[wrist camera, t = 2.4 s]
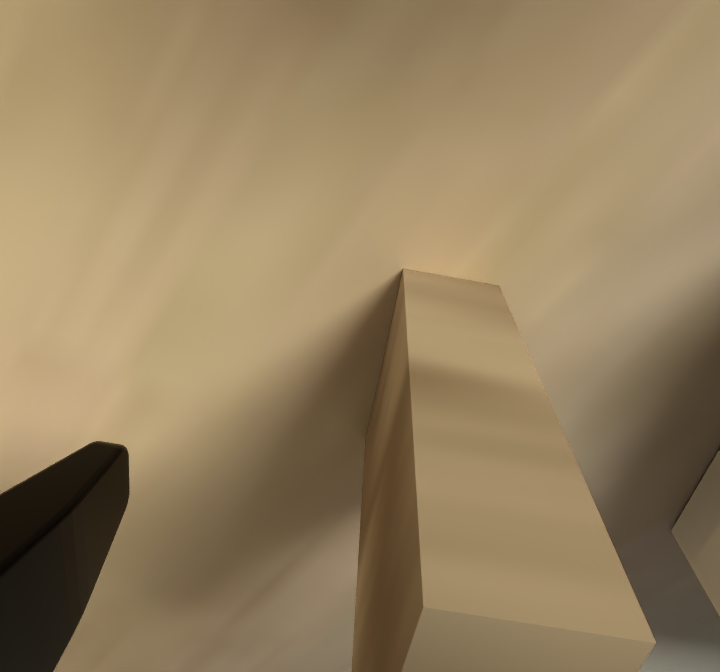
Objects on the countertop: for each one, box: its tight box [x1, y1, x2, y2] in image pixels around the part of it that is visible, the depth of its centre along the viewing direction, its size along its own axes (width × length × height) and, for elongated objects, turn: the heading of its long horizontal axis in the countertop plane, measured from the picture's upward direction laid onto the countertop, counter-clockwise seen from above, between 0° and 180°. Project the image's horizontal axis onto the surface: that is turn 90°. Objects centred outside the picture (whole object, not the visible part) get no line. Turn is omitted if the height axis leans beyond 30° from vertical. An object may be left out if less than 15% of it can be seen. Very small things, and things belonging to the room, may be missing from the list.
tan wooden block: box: [352, 269, 656, 672], centre depth 8 cm, size 4×2×7 cm, turn 170°
